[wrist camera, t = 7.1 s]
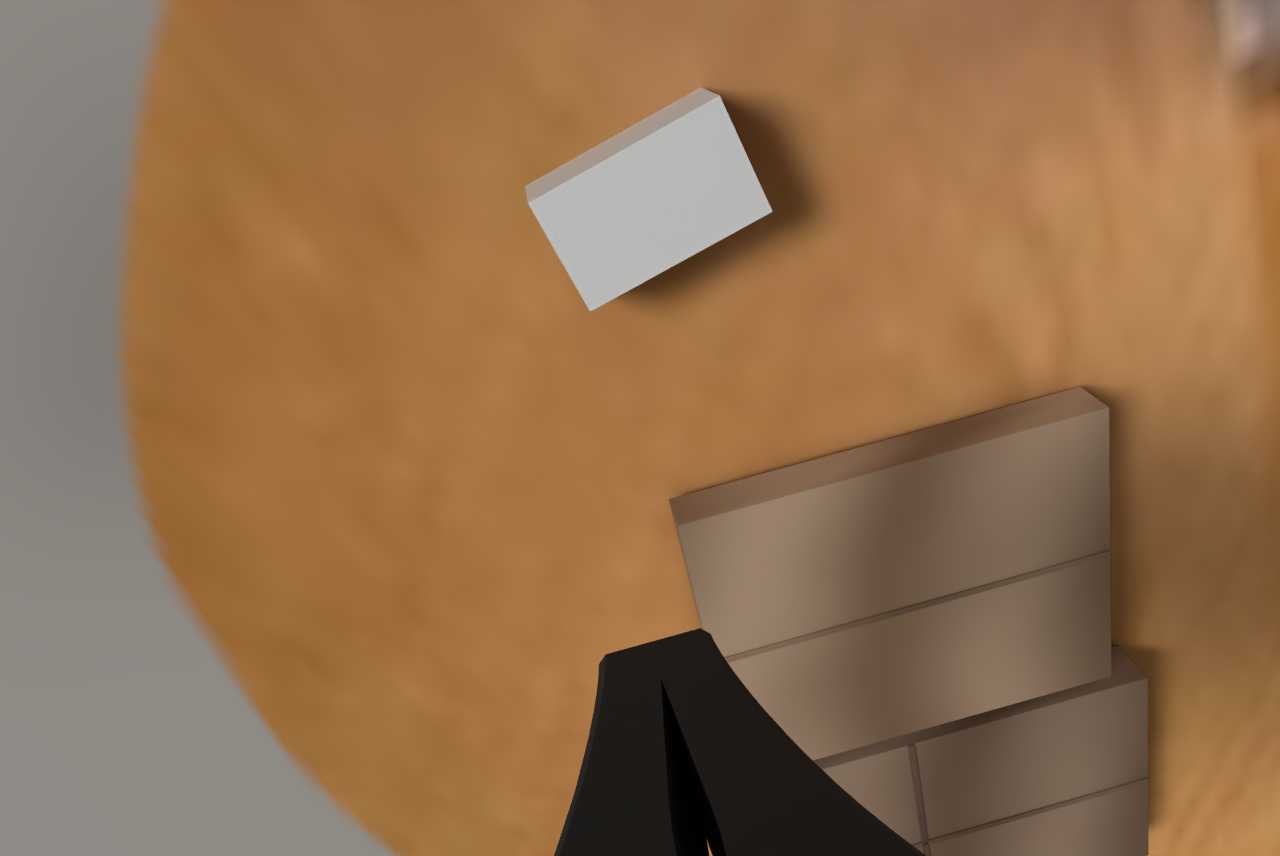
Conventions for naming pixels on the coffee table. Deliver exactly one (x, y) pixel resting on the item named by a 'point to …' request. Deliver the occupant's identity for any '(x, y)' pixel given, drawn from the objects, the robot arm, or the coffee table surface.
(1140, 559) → the coffee table surface
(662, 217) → the light grey block
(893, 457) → the board
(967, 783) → the laid board
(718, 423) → the coffee table surface
